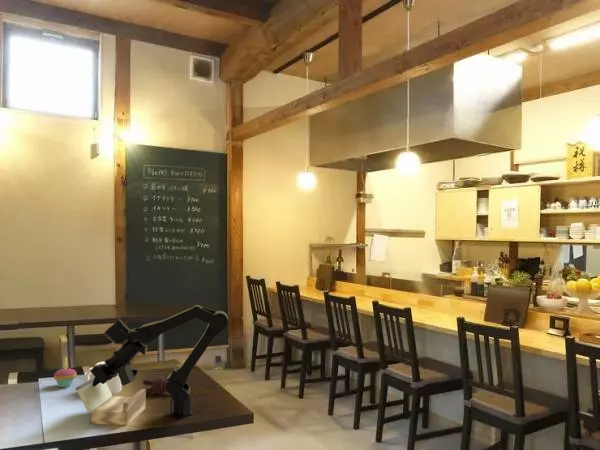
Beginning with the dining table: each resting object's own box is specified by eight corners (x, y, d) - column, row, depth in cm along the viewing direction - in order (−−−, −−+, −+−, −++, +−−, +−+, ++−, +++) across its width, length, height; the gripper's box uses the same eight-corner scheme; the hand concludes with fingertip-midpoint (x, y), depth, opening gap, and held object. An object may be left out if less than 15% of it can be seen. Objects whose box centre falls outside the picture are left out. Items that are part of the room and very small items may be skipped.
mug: (81, 394, 194) (82, 367, 195) (90, 387, 204) (90, 360, 205) (117, 394, 196) (118, 366, 196) (124, 386, 206) (125, 360, 206)
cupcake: (53, 384, 207) (54, 355, 208) (76, 382, 211) (77, 353, 211) (53, 390, 200) (54, 359, 200) (76, 387, 203) (77, 357, 204)
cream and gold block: (145, 408, 179) (145, 389, 180) (127, 425, 163) (127, 403, 164) (112, 407, 180) (113, 387, 180) (91, 423, 164) (91, 401, 164)
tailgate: (113, 395, 180) (102, 372, 181) (91, 411, 164) (79, 385, 165) (109, 397, 180) (98, 374, 181) (87, 413, 164) (74, 388, 165)
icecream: (183, 374, 202) (145, 377, 201) (178, 375, 194) (140, 378, 194) (183, 393, 200) (145, 396, 199) (179, 393, 192) (139, 397, 192)
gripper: (130, 378, 162) (96, 411, 163) (151, 364, 181) (120, 394, 181) (107, 353, 163) (73, 386, 163) (130, 341, 182) (99, 371, 182)
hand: (93, 385), depth 172 cm, fingers closed, pressing on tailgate
